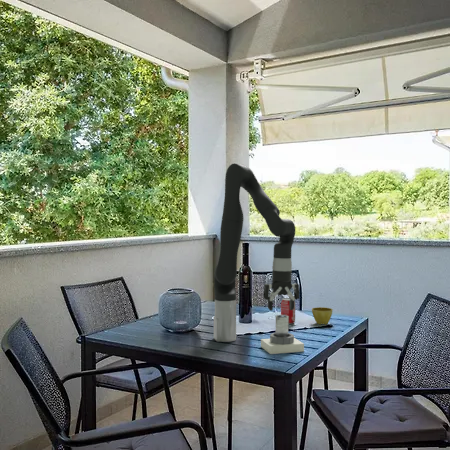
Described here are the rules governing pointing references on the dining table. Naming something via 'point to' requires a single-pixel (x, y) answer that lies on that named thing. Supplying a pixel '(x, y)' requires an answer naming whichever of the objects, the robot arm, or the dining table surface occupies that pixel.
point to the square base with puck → (282, 344)
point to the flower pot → (322, 315)
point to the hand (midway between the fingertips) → (281, 310)
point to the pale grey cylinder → (281, 326)
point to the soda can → (288, 310)
